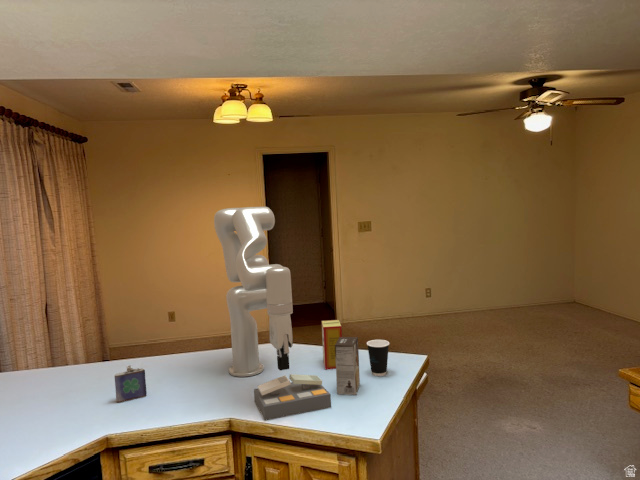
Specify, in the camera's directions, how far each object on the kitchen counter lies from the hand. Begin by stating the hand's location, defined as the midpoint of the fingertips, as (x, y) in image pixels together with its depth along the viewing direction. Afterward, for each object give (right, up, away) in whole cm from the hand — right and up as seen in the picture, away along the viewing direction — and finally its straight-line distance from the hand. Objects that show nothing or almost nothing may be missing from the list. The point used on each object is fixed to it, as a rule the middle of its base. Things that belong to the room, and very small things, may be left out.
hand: (283, 368), depth 141 cm
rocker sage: (+7, -4, +3) cm, 8 cm away
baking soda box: (+16, -8, +35) cm, 39 cm away
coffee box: (+20, -10, +11) cm, 25 cm away
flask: (-50, -13, +11) cm, 53 cm away
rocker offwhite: (-3, -5, 0) cm, 6 cm away
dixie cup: (+32, -8, +23) cm, 40 cm away
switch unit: (+2, -11, +1) cm, 11 cm away
